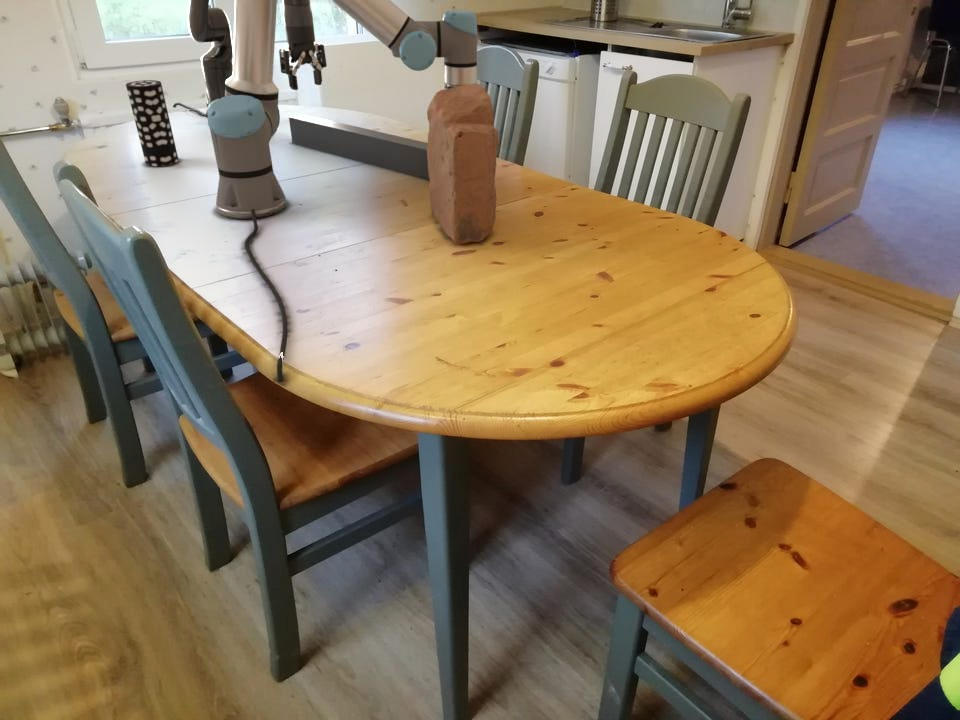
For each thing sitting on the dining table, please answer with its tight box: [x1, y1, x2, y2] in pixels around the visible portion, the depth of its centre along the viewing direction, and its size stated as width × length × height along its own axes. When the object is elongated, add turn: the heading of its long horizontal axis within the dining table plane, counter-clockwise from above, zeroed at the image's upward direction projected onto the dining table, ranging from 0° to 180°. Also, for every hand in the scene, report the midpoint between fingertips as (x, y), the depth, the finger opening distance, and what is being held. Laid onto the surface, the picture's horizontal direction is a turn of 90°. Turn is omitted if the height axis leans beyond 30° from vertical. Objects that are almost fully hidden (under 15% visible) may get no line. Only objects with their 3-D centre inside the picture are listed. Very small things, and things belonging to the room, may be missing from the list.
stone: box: [426, 83, 500, 245], centre depth 142 cm, size 22×11×28 cm, turn 18°
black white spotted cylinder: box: [125, 79, 179, 167], centre depth 181 cm, size 8×8×20 cm
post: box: [288, 113, 430, 181], centre depth 186 cm, size 68×5×8 cm, turn 53°
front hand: (461, 180), depth 173 cm, fingers open, 7 cm apart
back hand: (306, 87), depth 193 cm, fingers open, 8 cm apart
